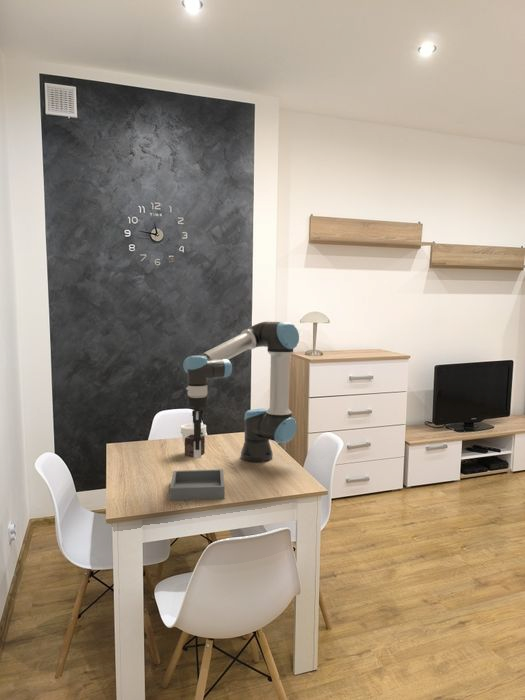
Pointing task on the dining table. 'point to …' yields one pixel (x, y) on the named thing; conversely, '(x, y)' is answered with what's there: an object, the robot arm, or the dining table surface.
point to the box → (190, 445)
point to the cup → (190, 430)
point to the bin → (197, 485)
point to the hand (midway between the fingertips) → (197, 454)
